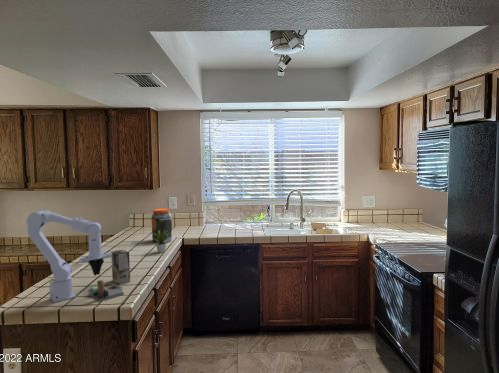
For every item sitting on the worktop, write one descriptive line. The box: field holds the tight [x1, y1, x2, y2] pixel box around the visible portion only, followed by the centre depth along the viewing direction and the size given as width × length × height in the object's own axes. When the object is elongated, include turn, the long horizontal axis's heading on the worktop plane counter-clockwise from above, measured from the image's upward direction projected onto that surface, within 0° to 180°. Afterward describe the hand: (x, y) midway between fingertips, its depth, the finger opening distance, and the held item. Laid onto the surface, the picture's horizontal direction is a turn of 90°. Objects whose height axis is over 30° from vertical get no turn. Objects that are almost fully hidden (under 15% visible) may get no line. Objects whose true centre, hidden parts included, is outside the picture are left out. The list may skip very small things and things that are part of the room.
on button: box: [91, 285, 98, 292], centre depth 180 cm, size 4×4×2 cm
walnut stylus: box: [96, 279, 105, 298], centre depth 174 cm, size 3×3×8 cm
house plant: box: [151, 230, 173, 254], centre depth 258 cm, size 14×14×16 cm
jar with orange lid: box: [150, 208, 173, 244], centre depth 293 cm, size 16×16×26 cm
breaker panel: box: [88, 283, 125, 302], centre depth 180 cm, size 12×13×3 cm
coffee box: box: [110, 249, 131, 285], centre depth 199 cm, size 9×6×16 cm
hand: (96, 274), depth 180 cm, fingers closed
